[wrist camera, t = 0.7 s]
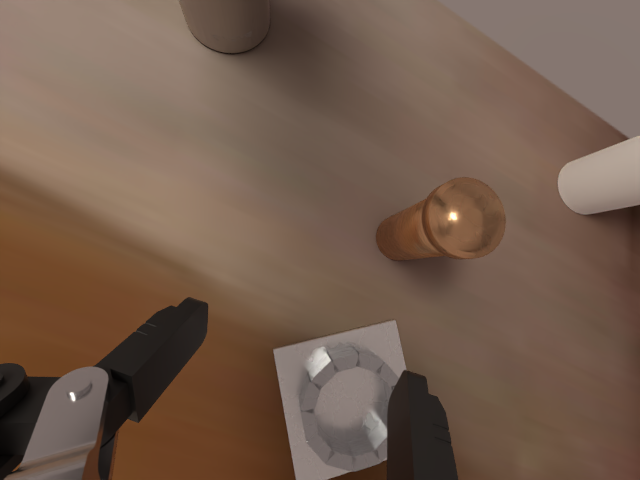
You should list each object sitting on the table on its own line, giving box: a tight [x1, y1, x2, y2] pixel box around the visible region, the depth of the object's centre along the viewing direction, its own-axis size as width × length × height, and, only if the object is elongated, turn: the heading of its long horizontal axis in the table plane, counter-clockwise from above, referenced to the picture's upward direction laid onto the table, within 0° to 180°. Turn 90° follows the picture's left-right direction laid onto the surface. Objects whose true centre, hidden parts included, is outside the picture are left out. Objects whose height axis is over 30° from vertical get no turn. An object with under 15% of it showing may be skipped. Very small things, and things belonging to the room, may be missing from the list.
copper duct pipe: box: [376, 177, 506, 260], centre depth 26 cm, size 6×6×12 cm
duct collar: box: [273, 319, 406, 480], centre depth 27 cm, size 13×13×3 cm
